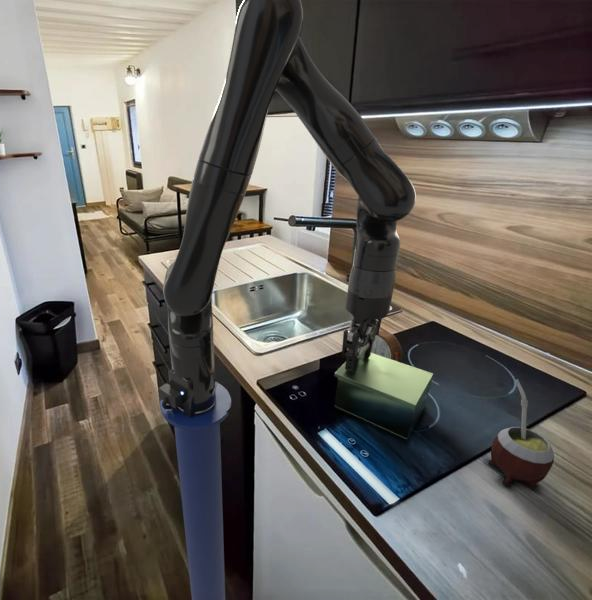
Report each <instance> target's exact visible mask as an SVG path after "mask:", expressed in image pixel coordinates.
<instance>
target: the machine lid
mask: <svg viewBox="0 0 592 600" xmlns="http://www.w3.org/2000/svg"><path fill="white" fill-rule="evenodd" d="M362 342H363V341H362ZM369 347H370V343H369V342H367V345H366V347H363V348H362V352H361V356H360V359H359V365H358V371H357V372H356V373H352V372H349V371H347V370H346V369H345V365H346V361H345V362H344V363H343V364H342V365H341V366H340V367H338V369H337V370H336V371H335V372H334V375H333V376H334V377H335V378H337V379H338V378H340V379H342V380H345V381H347V382H350V383H352V384H355V385H357V386H360V387H362V388H365V389H367V390H370V391H372V392H375V393H377V394H379V395H382V396H384V397H387V398H389V399H392V400H394V401H397V402H399V403H402V404H404V405H407V406H409V407H412V408H414V409H415V408H416V406H417V404H418V402H419V401H420V399H421V397H422V395H423V394H424V392H425V390H426V388H427V386H428V385H429V383H430V381H431V379H432V380H433V377H434V374H435V373H433V372H430V371H427V370H424V369H421V368H418V367H415V366H412V365H409V364H407V363H403V362H401V361H400V362H397V361H394V360H391V359H388V358H385V357H382V356H380V355H377V354H374V353H371V355H370V357H369V358H365V354H366V350H367V349H368V348H369Z"/></svg>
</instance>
